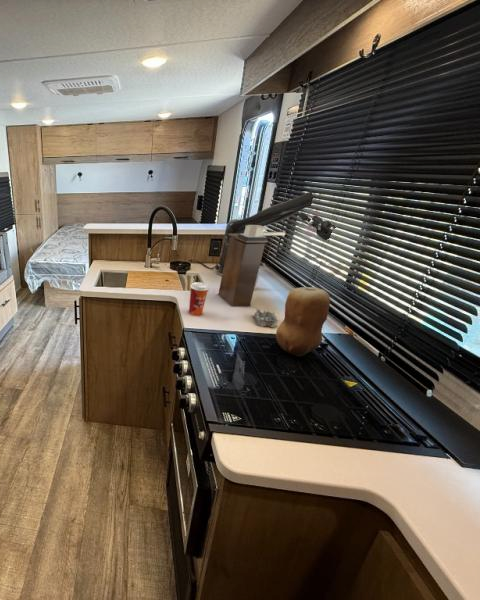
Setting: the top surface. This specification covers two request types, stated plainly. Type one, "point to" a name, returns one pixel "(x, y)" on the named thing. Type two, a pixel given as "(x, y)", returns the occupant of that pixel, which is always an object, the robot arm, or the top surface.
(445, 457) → the top surface
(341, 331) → the top surface
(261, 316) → the grey knobbly lump
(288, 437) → the top surface
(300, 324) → the butternut squash
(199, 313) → the paper cup
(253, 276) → the pedestal
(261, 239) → the scale
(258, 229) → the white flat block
